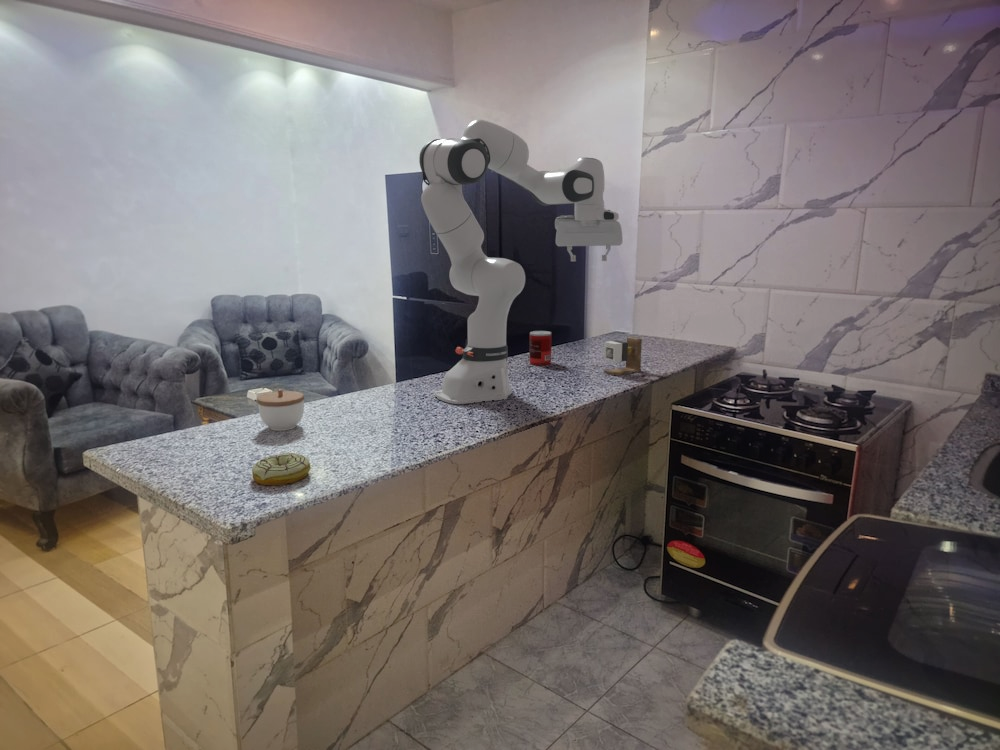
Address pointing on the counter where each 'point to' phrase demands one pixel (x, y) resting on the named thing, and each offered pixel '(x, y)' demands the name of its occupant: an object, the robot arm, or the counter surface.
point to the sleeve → (616, 351)
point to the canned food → (540, 347)
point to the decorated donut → (281, 469)
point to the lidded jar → (281, 409)
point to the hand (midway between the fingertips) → (588, 261)
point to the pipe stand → (629, 357)
